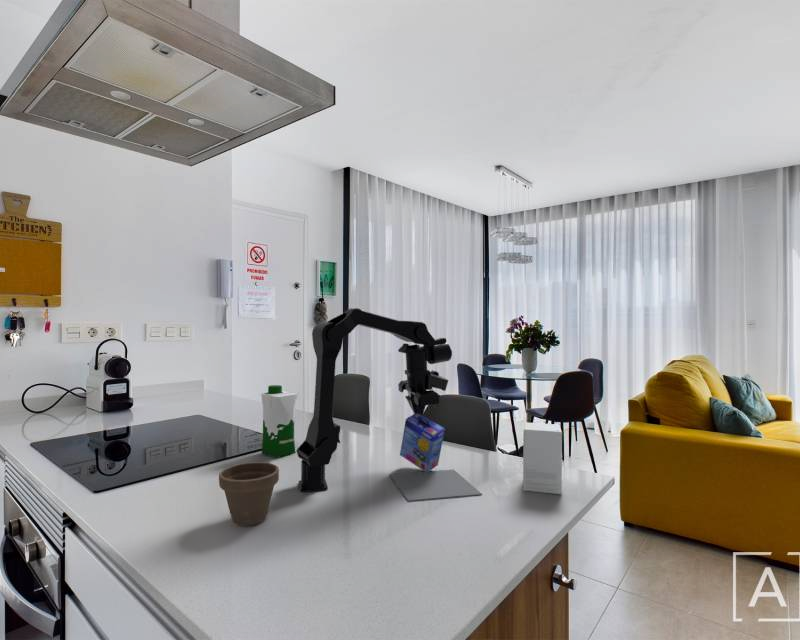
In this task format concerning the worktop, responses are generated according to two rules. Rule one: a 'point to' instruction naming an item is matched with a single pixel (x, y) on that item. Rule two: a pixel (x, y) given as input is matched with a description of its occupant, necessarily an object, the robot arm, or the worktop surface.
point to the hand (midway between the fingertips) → (419, 421)
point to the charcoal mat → (433, 485)
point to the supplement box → (542, 458)
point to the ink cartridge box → (422, 442)
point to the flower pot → (249, 490)
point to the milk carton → (278, 422)
